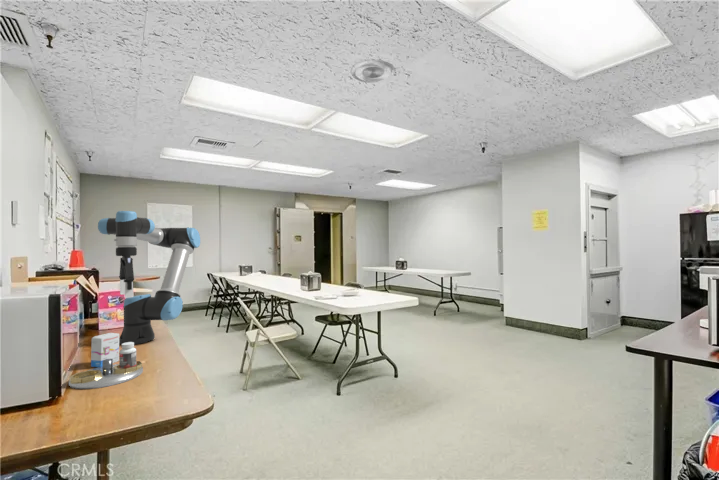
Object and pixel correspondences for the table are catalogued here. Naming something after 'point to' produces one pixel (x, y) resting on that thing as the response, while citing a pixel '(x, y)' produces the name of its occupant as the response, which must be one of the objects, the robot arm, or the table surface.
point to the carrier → (104, 375)
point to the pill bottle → (127, 355)
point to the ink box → (104, 349)
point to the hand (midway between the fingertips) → (126, 295)
